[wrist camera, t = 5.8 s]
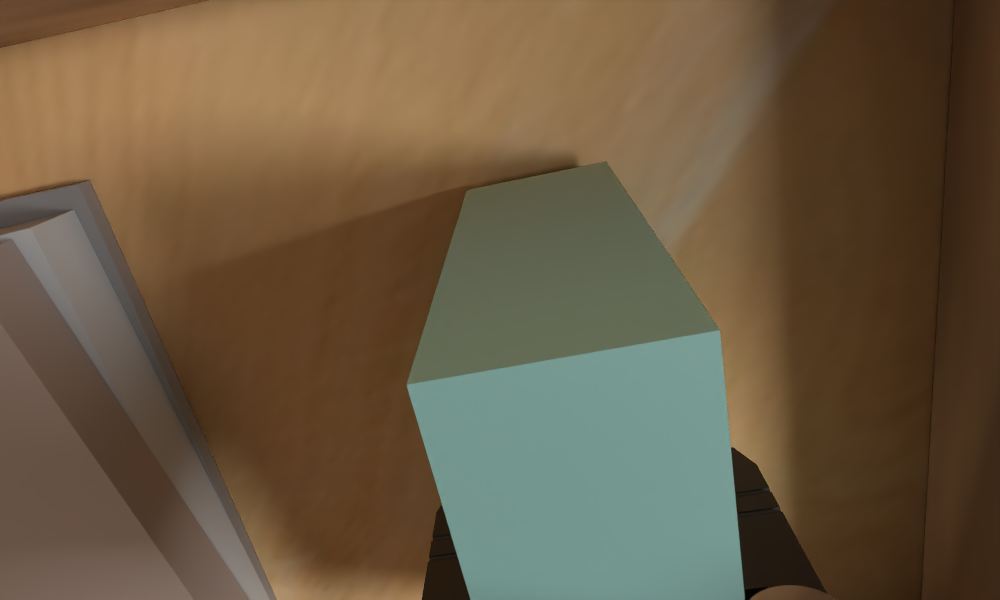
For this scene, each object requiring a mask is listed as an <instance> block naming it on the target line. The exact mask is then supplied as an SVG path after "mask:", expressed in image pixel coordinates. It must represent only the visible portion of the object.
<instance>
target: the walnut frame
mask: <svg viewBox="0 0 1000 600" xmlns="http://www.w3.org/2000/svg"><path fill="white" fill-rule="evenodd" d="M202 1H207V0H0V48H1V47H5V46H9V45H14V44H18V43H23V42H27V41H31V40H36V39H40V38H45V37H49V36H53V35H58V34H62V33H66V32H71V31H75V30H80V29H84V28H88V27H93V26H97V25H102V24H106V23H110V22H115V21H119V20H123V19H128V18H132V17H137V16H141V15H145V14H150V13H154V12H159V11H163V10H167V9H172V8H176V7H181V6H185V5H189V4H194V3H198V2H202ZM921 600H1000V0H955V10H954V28H953V46H952V63H951V81H950V99H949V117H948V134H947V152H946V170H945V187H944V205H943V223H942V241H941V258H940V276H939V294H938V311H937V329H936V347H935V365H934V382H933V400H932V418H931V435H930V453H929V471H928V489H927V506H926V524H925V542H924V559H923V577H922V595H921Z"/></svg>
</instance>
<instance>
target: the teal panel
mask: <svg viewBox="0 0 1000 600" xmlns="http://www.w3.org/2000/svg"><path fill="white" fill-rule="evenodd" d="M406 386H407V389H408V392H409V396H410V399H411V402H412V406H413V409H414V412H415V416H416V419H417V422H418V426H419V429H420V432H421V436H422V439H423V443H424V446H425V449H426V453H427V456H428V459H429V463H430V466H431V469H432V473H433V476H434V479H435V483H436V486H437V489H438V493H439V496H440V499H441V503H442V506H443V509H444V513H445V516H446V520H447V523H448V526H449V530H450V533H451V536H452V540H453V543H454V546H455V550H456V553H457V556H458V560H459V563H460V566H461V570H462V573H463V576H464V580H465V583H466V586H467V590H468V593H469V597H470V600H745V595H744V584H743V573H742V562H741V552H740V541H739V530H738V519H737V509H736V498H735V487H734V476H733V465H732V455H731V444H730V433H729V422H728V411H727V401H726V390H725V379H724V368H723V357H722V347H721V336H720V330H719V328H718V327H717V325H716V324H715V322H714V321H713V319H712V318H711V316H710V315H709V313H708V312H707V310H706V309H705V307H704V306H703V304H702V303H701V301H700V300H699V298H698V297H697V295H696V294H695V292H694V291H693V290H692V288H691V287H690V285H689V284H688V282H687V281H686V279H685V278H684V276H683V275H682V273H681V272H680V270H679V269H678V267H677V266H676V264H675V263H674V261H673V260H672V258H671V257H670V255H669V254H668V252H667V251H666V249H665V248H664V247H663V245H662V244H661V242H660V241H659V239H658V238H657V236H656V235H655V233H654V232H653V230H652V229H651V227H650V226H649V224H648V223H647V221H646V220H645V218H644V217H643V215H642V214H641V212H640V211H639V209H638V208H637V207H636V205H635V204H634V202H633V201H632V199H631V198H630V196H629V195H628V193H627V192H626V190H625V189H624V187H623V186H622V184H621V183H620V181H619V180H618V178H617V177H616V175H615V174H614V172H613V171H612V169H611V168H610V167H609V165H608V164H607V162H601V163H596V164H592V165H587V166H582V167H577V168H572V169H567V170H562V171H557V172H552V173H547V174H542V175H537V176H532V177H527V178H522V179H518V180H513V181H508V182H503V183H498V184H493V185H488V186H483V187H478V188H473V189H468V190H467V192H466V195H465V198H464V201H463V204H462V208H461V211H460V214H459V217H458V220H457V224H456V227H455V230H454V233H453V236H452V240H451V243H450V246H449V249H448V253H447V256H446V259H445V262H444V265H443V269H442V272H441V275H440V278H439V281H438V285H437V288H436V291H435V294H434V297H433V301H432V304H431V307H430V310H429V314H428V317H427V320H426V323H425V326H424V330H423V333H422V336H421V339H420V342H419V346H418V349H417V352H416V355H415V358H414V362H413V365H412V368H411V371H410V375H409V378H408V381H407V384H406Z"/></svg>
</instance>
